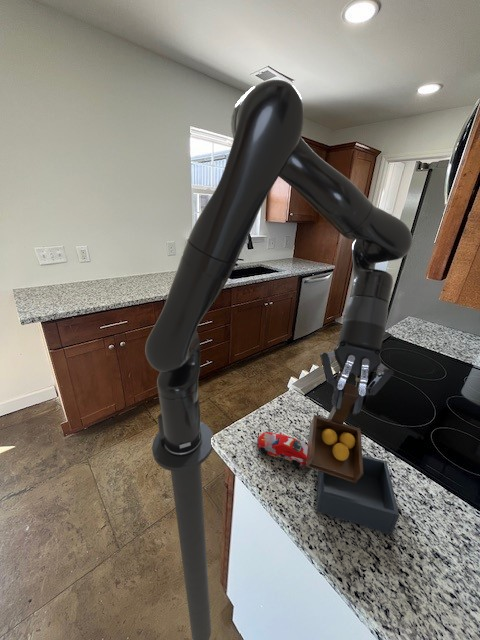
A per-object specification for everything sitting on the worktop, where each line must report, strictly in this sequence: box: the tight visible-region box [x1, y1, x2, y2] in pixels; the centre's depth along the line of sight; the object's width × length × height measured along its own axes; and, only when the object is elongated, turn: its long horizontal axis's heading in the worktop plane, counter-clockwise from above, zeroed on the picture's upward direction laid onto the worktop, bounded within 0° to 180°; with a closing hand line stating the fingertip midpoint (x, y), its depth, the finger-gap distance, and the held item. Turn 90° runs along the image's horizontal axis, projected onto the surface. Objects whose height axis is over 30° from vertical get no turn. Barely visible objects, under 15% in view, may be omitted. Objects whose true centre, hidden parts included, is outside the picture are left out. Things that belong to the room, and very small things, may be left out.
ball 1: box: [322, 429, 337, 445], centre depth 53 cm, size 3×3×3 cm
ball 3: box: [332, 443, 349, 461], centre depth 50 cm, size 3×3×3 cm
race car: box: [256, 431, 308, 468], centre depth 63 cm, size 13×5×4 cm, turn 63°
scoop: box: [305, 383, 363, 483], centre depth 50 cm, size 11×9×13 cm
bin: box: [316, 454, 400, 535], centre depth 53 cm, size 13×11×6 cm
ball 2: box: [339, 432, 355, 449], centre depth 53 cm, size 3×3×3 cm
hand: (344, 411), depth 50 cm, fingers closed on scoop, 2 cm apart
